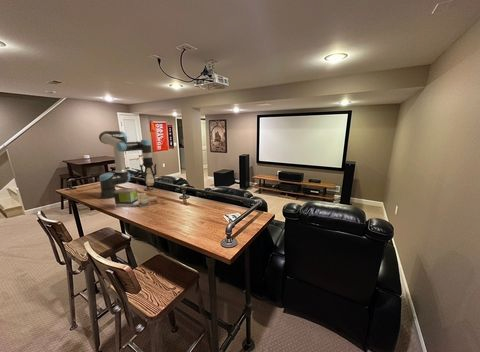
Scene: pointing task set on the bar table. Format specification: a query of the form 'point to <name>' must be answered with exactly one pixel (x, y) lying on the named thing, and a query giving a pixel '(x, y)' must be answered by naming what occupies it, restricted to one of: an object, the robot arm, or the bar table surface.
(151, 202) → the grey brown flat frame
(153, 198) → the feeder tray
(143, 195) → the tan block
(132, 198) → the tea box
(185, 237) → the bar table surface
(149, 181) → the beige wooden block
